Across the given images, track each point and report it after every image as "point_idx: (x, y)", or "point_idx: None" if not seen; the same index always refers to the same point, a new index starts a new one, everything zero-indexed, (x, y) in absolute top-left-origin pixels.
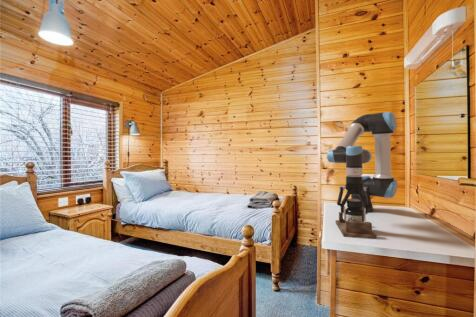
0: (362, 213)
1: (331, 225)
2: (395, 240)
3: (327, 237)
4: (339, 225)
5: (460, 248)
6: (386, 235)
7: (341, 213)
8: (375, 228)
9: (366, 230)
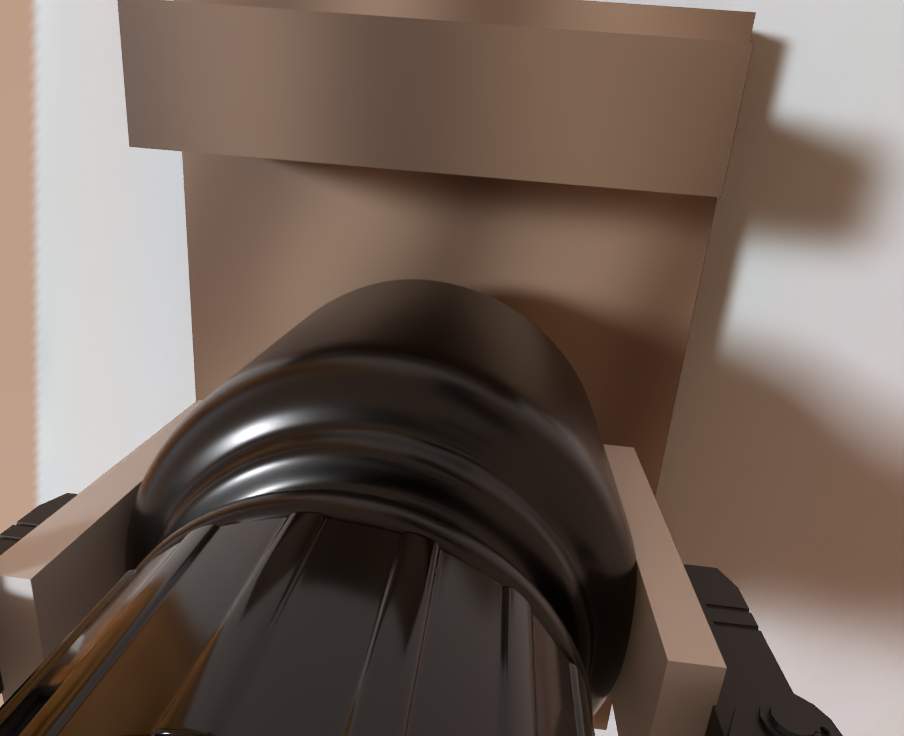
0: None
1: (113, 190)
2: None
3: None
4: (204, 352)
5: None
6: (812, 586)
7: (176, 149)
8: (848, 282)
9: None
